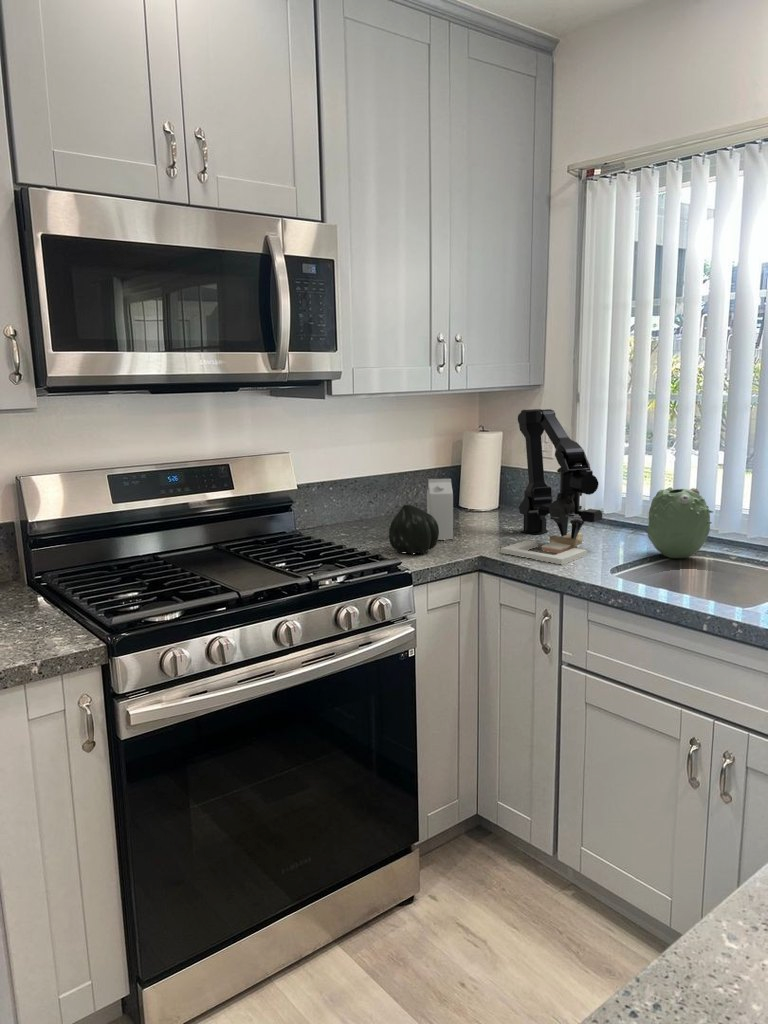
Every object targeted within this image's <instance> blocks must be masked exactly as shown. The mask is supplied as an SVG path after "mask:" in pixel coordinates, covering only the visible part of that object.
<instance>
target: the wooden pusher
mask: <svg viewBox="0 0 768 1024" xmlns="http://www.w3.org/2000/svg"><path fill="white" fill-rule="evenodd" d="M551 542H556V543H562V544H568V545H571V546H570V549H573V548H577V549H578V545H579V544H582V543H583V533H582V532H579V533H578V535H577V537H576V539H572V538H571V533H569V534H568V533H567V535H565V536H559V535H551V536H549V543H551Z"/></svg>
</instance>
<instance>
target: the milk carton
mask: <svg viewBox="0 0 768 1024" xmlns="http://www.w3.org/2000/svg"><path fill="white" fill-rule="evenodd" d="M452 485H453V484H452V478H428V482H427V488H426V513H428V514H430V515H431V516H432V517H434V519H435V520H436V522H437V524H438V527H439V536H438V539H453V540H454V529H453V528H454V493H453V492H454V491H453V486H452Z"/></svg>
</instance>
